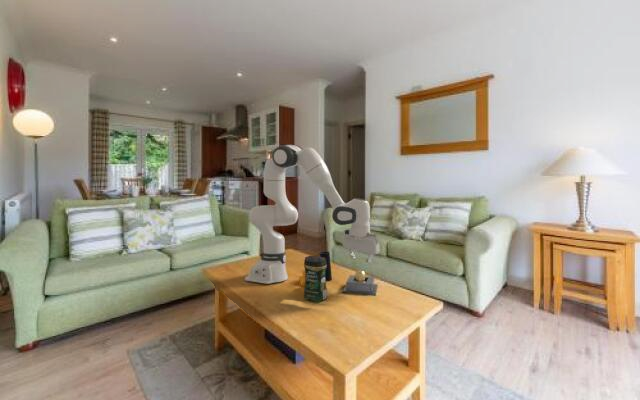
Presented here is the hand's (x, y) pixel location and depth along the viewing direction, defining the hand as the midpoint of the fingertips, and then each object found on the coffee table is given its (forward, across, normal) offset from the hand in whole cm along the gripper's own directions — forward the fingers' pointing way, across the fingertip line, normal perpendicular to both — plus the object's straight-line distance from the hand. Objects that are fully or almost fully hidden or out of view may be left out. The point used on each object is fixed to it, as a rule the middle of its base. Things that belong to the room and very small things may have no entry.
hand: (360, 260), depth 138 cm
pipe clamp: (+14, +22, +16) cm, 31 cm away
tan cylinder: (+13, -2, +2) cm, 13 cm away
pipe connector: (+14, +20, +6) cm, 26 cm away
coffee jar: (+14, +4, +25) cm, 29 cm away
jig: (+14, -1, +1) cm, 14 cm away
